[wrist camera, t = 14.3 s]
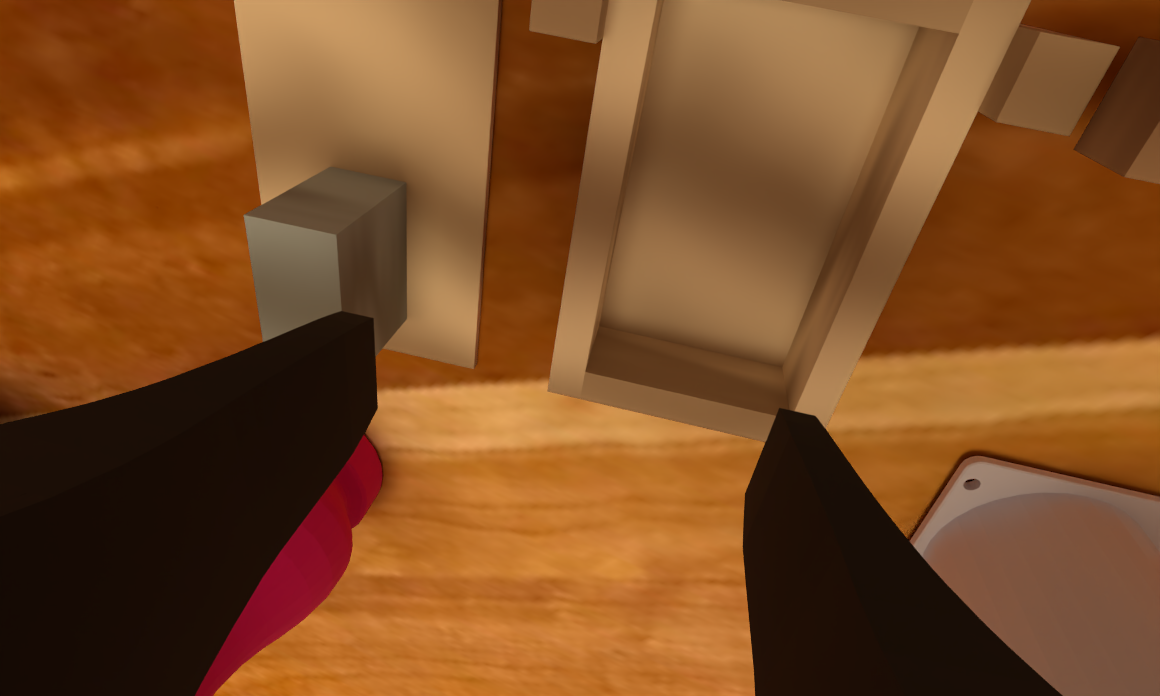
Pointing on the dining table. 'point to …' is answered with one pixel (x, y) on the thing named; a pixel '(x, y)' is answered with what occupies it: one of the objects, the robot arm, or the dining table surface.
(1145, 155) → the rectangular bar
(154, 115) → the dining table surface
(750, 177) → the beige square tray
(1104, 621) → the robot arm
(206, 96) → the dining table surface
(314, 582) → the pepper mill
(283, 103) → the lid
